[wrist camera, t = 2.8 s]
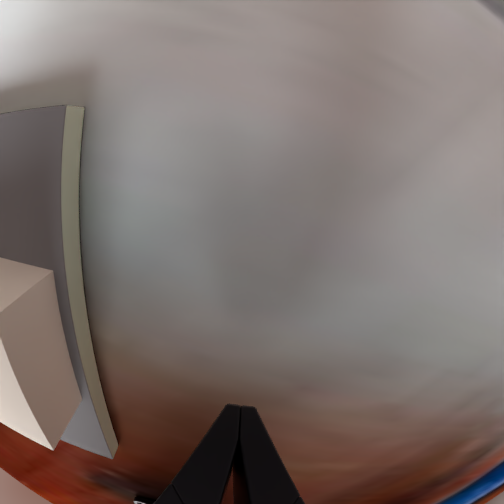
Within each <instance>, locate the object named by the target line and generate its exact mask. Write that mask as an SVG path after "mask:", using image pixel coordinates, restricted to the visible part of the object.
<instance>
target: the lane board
mask: <svg viewBox="0 0 504 504" xmlns="http://www.w3.org/2000/svg"><path fill="white" fill-rule="evenodd" d="M84 109H85V107H79V106H70V105H67V107H66V115H65V125H64V136H63V150H62V172H61V211H62V234H63V249H64V260H65V270H66V278H67V286H68V294H69V300H70V307H71V313H72V318H73V324H74V329H75V334H76V339H77V344H78V348H79V353H80V357H81V361H82V365H83V369H84V373H85V377H86V381H87V384H88V388H89V391H90V395H91V398H92V401H93V404H94V408H95V411H96V414H97V417H98V420H99V423H100V425H101V428H102V431H103V434H104V437H105V439H106V442H107V444H108V447H109V450H110V452H111V455H112V457H113V458H114V455H115V453H116V450H117V448H118V442H117V439H116V436H115V433H114V430H113V427H112V424H111V420H110V417H109V414H108V410H107V407H106V403H105V399H104V395H103V392H102V388H101V383H100V379H99V375H98V371H97V366H96V361H95V357H94V352H93V346H92V341H91V336H90V330H89V324H88V317H87V310H86V303H85V295H84V286H83V277H82V265H81V252H80V233H79V169H80V151H81V138H82V127H83V118H84Z"/></svg>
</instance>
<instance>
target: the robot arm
mask: <svg viewBox="0 0 504 504" xmlns="http://www.w3.org/2000/svg"><path fill="white" fill-rule="evenodd" d="M232 467H233V496H234V504H305V503H304V501H303V499H302V497H299V496H300V494H299V492H298V490H297V489H296V487H295V485H294V483H293V481H292V479H291V477H290V475H289V474H288V472H287V470H286V468H285V466H284V464H283V462H282V460H281V458H280V456H279V454H278V452H277V450H276V448H275V446H274V444H273V442H272V440H271V438H270V436H269V434H268V432H267V430H266V428H265V426H264V424H263V422H262V420H261V418H260V416H259V414H258V412H257V410H256V408H255V407H253V406H241V407H240V405H236V404H226V405H225V407H224V408H223V410H222V411H221V413H220V414H219V416H218V417H217V419H216V420H215V422H214V423H213V424H212V426H211V427H210V429H209V430H208V432H207V433H206V435H205V436H204V437H203V439H202V440H201V442H200V443H199V444H198V446H197V447H196V449H195V450H194V451H193V453H192V454H191V456H190V457H189V458H188V460H187V461H186V462H185V464H184V465H183V467H182V468H181V469H180V471H179V472H178V473H177V475H176V476H175V477H174V479H173V480H172V481H171V484H169V485H168V486H167V488H166V489H165V490H164V492H163V493H162V494H161V495H160V496H159V498H158V499H157V500H156V501H151V500H147V499H143V498H140V497H135V499H134V504H223V501H224V498H225V494H226V490H227V487H228V483H229V479H230V476H231V471H232Z"/></svg>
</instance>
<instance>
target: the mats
mask: <svg viewBox="0 0 504 504" xmlns="http://www.w3.org/2000/svg"><path fill="white" fill-rule="evenodd" d="M66 107H67V105H61V106H51V107H42V108H34V109H27V110H21V111H14V112H8V113H3V114H0V257H1V258H5V259H8V260H12V261H16V262H20V263H24V264H28V265H32V266H36V267H40V268H44V269H49V270H53V273H54V280H55V287H56V294H57V300H58V305H59V311H60V316H61V321H62V326H63V331H64V335H65V340H66V344H67V348H68V352H69V356H70V360H71V363H72V367H73V371H74V374H75V378H76V381H77V384H78V387H79V391H80V394H81V397H82V401H81V402H80V404H79V406H78V408H77V409H76V411H75V413H74V415H73V416H72V418H71V420H70V422H69V423H68V425H67V427H66V429H65V431H64V432H63V434H62V436H61V438H60V439H61V440H63V441H65V442H68V443H70V444H72V445H75V446H77V447H80V448H82V449H85V450H88V451H90V452H93V453H96V454H99V455H101V456H104V457H107V458H110V459H113V457H112V455H111V452H110V450H109V447H108V444H107V442H106V439H105V437H104V434H103V431H102V428H101V425H100V423H99V420H98V417H97V414H96V411H95V408H94V404H93V401H92V398H91V395H90V391H89V388H88V384H87V381H86V377H85V373H84V369H83V365H82V361H81V357H80V353H79V348H78V344H77V339H76V334H75V329H74V324H73V318H72V313H71V307H70V300H69V294H68V286H67V278H66V270H65V260H64V249H63V234H62V211H61V172H62V150H63V136H64V125H65V115H66Z"/></svg>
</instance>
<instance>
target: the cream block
mask: <svg viewBox="0 0 504 504" xmlns="http://www.w3.org/2000/svg"><path fill="white" fill-rule="evenodd" d="M81 401H82V397H81V394H80V391H79V387H78V384H77V381H76V378H75V374H74V371H73V367H72V363H71V360H70V356H69V352H68V348H67V344H66V340H65V335H64V331H63V326H62V321H61V316H60V311H59V305H58V300H57V294H56V287H55V280H54V273H53V270H49V269H44V268H40V267H36V266H32V265H28V264H24V263H20V262H16V261H12V260H8V259H5V258H1V257H0V422H1V423H3V424H5V425H6V426H8V427H10V428H11V429H13V430H15V431H17V432H18V433H20V434H22V435H24V436H26V437H27V438H29V439H31V440H33V441H35V442H37V443H39V444H41V445H43V446H45V447H47V448H49V449H51V450H53V451H54V449H55V447H56V445H57V443H58V441H59V440H60V438H61V436H62V434H63V432H64V431H65V429H66V427H67V425H68V423H69V422H70V420H71V418H72V416H73V415H74V413H75V411H76V409H77V408H78V406H79V404H80V402H81Z"/></svg>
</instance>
